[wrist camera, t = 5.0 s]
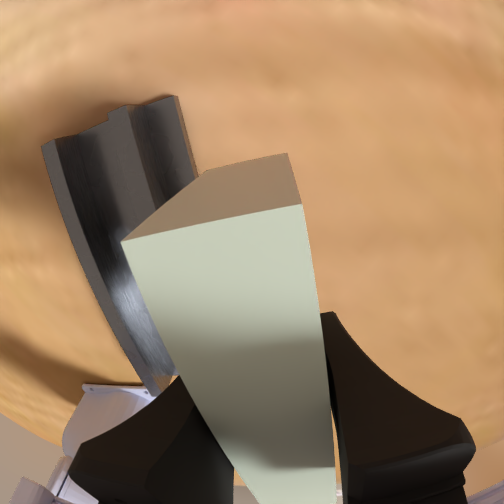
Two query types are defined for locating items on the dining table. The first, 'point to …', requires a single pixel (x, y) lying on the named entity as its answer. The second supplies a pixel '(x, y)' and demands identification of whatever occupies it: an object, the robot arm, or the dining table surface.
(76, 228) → the rail
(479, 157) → the dining table surface
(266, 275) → the sage green block
